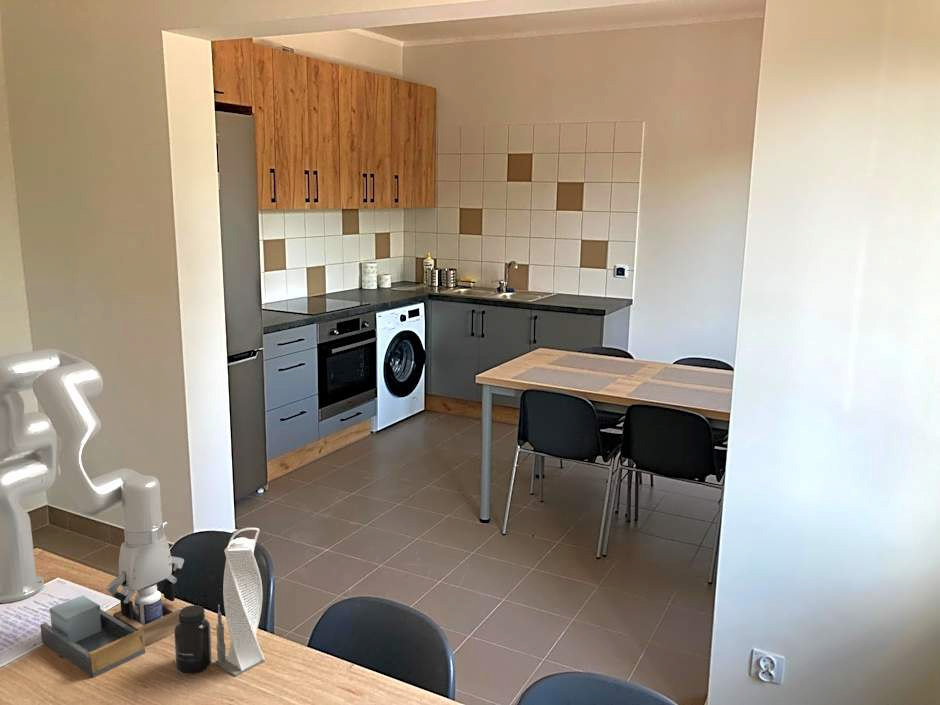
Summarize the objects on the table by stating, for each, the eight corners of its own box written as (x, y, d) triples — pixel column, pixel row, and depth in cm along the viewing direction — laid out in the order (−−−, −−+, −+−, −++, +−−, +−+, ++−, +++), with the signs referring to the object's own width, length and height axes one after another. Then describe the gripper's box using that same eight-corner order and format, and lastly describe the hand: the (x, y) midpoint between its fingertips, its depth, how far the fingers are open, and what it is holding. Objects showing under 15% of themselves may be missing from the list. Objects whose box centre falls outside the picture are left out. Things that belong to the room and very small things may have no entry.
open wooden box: (106, 626, 169) (105, 609, 168) (148, 608, 177) (147, 592, 176) (142, 648, 161) (140, 630, 160) (184, 628, 169) (183, 611, 168)
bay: (42, 641, 163) (39, 620, 162) (92, 620, 172) (91, 599, 171) (93, 677, 151) (91, 654, 150) (145, 652, 159) (143, 630, 158)
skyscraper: (251, 645, 162) (245, 520, 157) (274, 660, 157) (269, 531, 152) (215, 663, 156) (208, 533, 151) (238, 678, 151) (231, 545, 146)
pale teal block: (51, 634, 164) (49, 608, 163) (85, 620, 170) (82, 595, 169) (68, 645, 160) (66, 619, 159) (102, 630, 165) (100, 605, 164)
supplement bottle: (178, 679, 151) (175, 622, 148) (174, 661, 156) (170, 606, 154) (214, 669, 154) (211, 614, 152) (209, 652, 160) (206, 599, 157)
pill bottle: (167, 620, 170) (165, 579, 168) (155, 633, 165) (152, 591, 163) (144, 618, 171) (141, 577, 169) (131, 631, 165) (128, 589, 164)
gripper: (170, 517, 173) (175, 587, 176) (95, 543, 159) (101, 619, 162) (190, 525, 168) (194, 597, 171) (114, 552, 155) (120, 630, 158)
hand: (149, 608), depth 167 cm, fingers open, 9 cm apart
